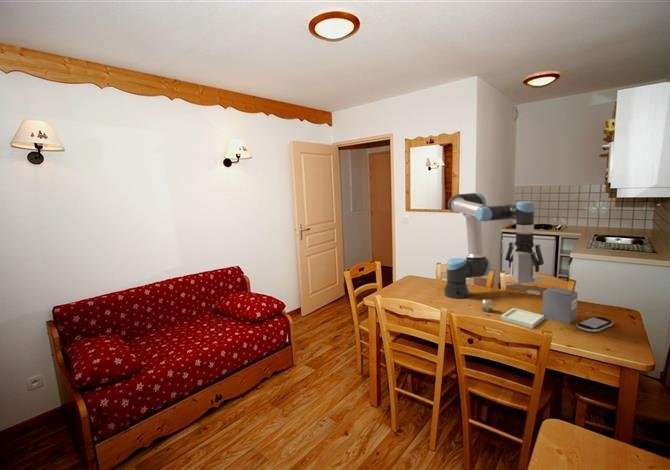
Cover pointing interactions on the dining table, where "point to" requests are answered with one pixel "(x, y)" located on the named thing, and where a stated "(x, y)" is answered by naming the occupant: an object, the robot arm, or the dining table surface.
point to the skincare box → (523, 267)
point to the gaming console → (594, 324)
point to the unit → (559, 305)
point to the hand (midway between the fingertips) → (523, 276)
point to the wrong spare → (486, 305)
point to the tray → (522, 317)
